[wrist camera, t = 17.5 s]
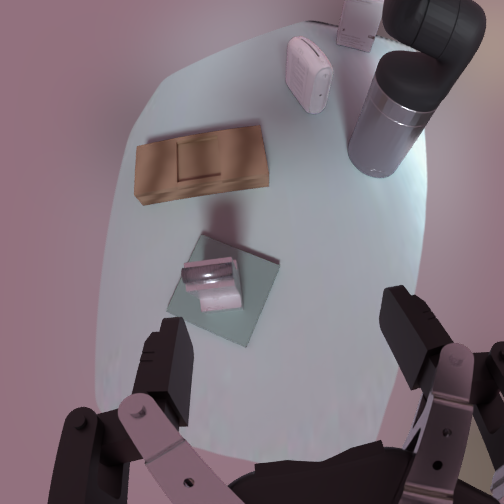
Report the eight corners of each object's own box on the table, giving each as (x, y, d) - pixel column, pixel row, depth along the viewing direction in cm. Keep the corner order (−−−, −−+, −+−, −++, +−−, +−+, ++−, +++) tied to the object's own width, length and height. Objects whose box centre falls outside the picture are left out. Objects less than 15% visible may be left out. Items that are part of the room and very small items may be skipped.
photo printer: (328, 111, 51) (340, 62, 39) (307, 117, 51) (316, 66, 39) (301, 76, 54) (307, 28, 42) (282, 81, 53) (284, 32, 41)
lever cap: (207, 314, 41) (183, 304, 29) (202, 271, 43) (179, 245, 31) (243, 310, 41) (235, 298, 29) (238, 266, 43) (228, 238, 31)
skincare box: (336, 45, 57) (345, -7, 42) (337, 32, 58) (345, -16, 44) (371, 53, 56) (386, 4, 42) (370, 40, 57) (383, -7, 43)
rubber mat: (202, 236, 45) (201, 234, 44) (279, 267, 44) (280, 265, 43) (168, 311, 43) (166, 311, 42) (246, 347, 41) (245, 347, 40)
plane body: (143, 205, 47) (134, 194, 43) (144, 158, 50) (136, 146, 46) (268, 186, 47) (268, 173, 43) (260, 139, 50) (260, 125, 46)
